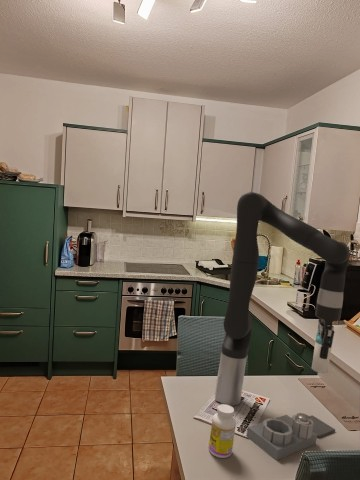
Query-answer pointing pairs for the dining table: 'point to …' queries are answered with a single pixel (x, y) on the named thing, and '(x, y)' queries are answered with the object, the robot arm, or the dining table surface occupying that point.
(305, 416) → the plunger
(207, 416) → the dining table surface
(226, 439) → the supplement bottle
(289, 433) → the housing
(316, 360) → the cartridge
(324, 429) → the mat
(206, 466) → the dining table surface
